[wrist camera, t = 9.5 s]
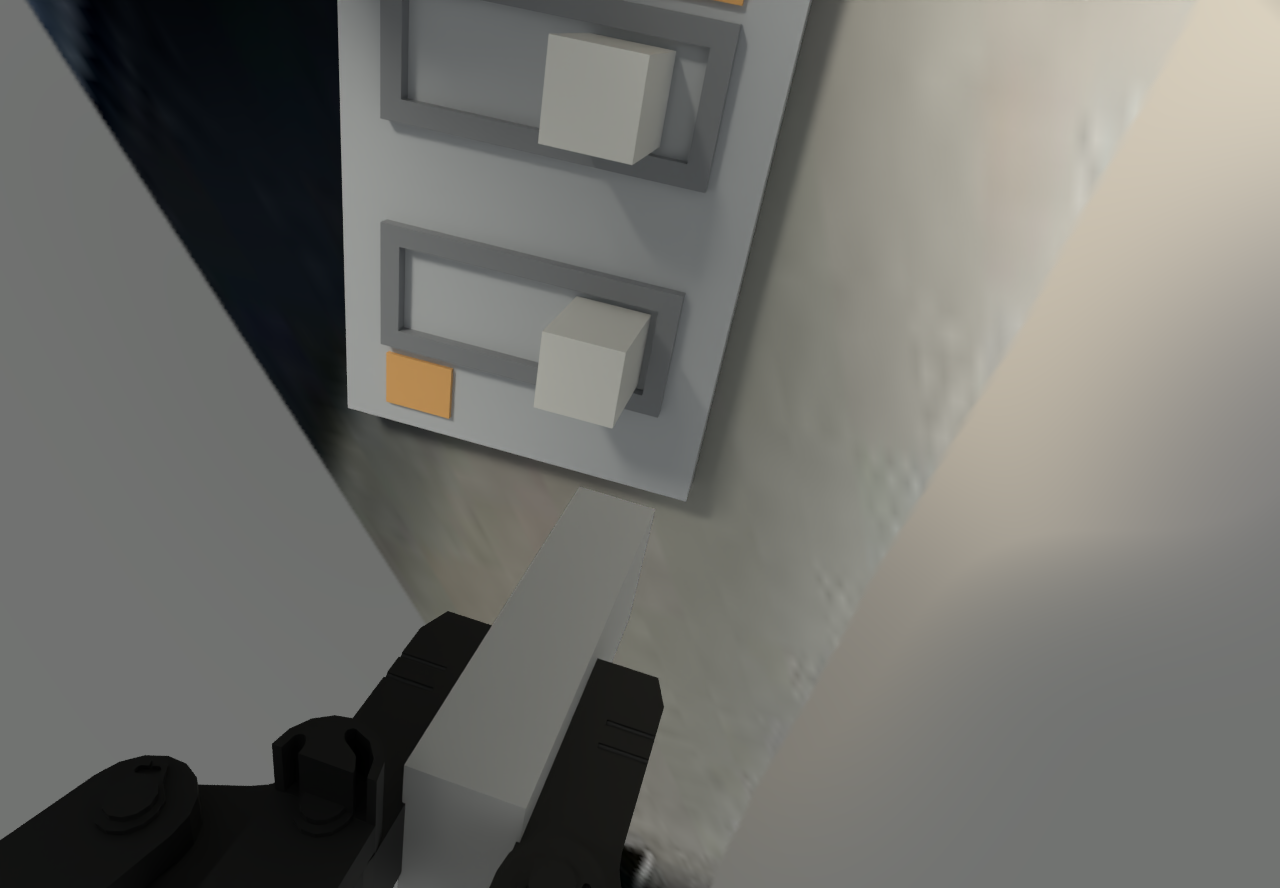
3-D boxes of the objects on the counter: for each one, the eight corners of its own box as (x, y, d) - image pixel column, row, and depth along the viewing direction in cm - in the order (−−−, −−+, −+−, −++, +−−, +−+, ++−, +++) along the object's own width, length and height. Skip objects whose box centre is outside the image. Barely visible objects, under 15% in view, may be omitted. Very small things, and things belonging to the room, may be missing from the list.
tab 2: (567, 365, 31) (533, 407, 28) (577, 296, 30) (542, 331, 26) (638, 384, 31) (612, 428, 28) (651, 314, 29) (625, 352, 26)
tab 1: (576, 128, 27) (537, 143, 23) (588, 32, 25) (548, 33, 22) (659, 146, 27) (632, 165, 23) (676, 50, 25) (649, 55, 22)
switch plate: (365, 394, 36) (341, 412, 35) (358, -194, 25) (322, -210, 24) (691, 483, 35) (683, 507, 33) (838, -107, 23) (838, -117, 22)
